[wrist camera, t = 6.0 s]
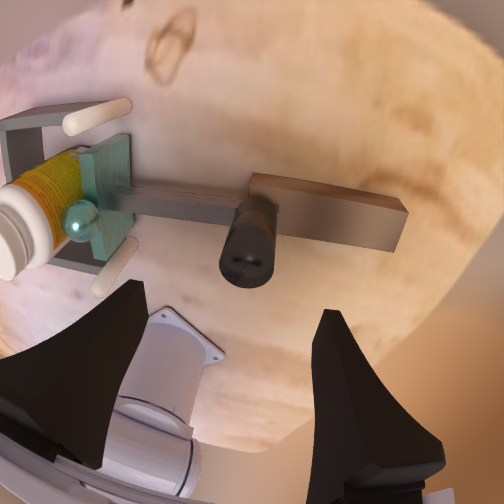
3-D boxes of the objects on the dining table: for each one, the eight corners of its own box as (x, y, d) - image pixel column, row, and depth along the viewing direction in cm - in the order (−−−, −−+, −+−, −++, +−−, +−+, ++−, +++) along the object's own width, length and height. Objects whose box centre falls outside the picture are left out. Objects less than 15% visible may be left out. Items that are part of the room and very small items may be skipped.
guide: (398, 199, 19) (408, 212, 17) (386, 236, 21) (394, 252, 19) (253, 172, 19) (249, 184, 18) (248, 213, 21) (244, 228, 19)
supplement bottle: (79, 129, 18) (-29, 185, 10) (128, 179, 20) (35, 262, 12) (50, 178, 21) (-38, 244, 12) (93, 224, 23) (15, 307, 14)
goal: (132, 97, 17) (79, 113, 12) (138, 250, 24) (106, 299, 19) (33, 105, 17) (-22, 126, 12) (51, 235, 24) (13, 274, 19)
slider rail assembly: (286, 149, 18) (287, 197, 12) (270, 246, 22) (262, 325, 15) (107, 134, 18) (36, 173, 12) (114, 224, 22) (62, 285, 16)
